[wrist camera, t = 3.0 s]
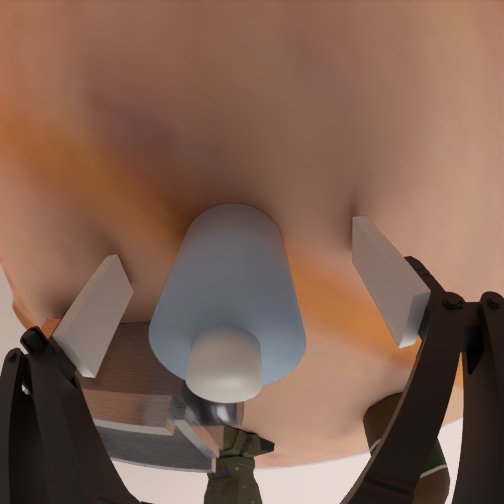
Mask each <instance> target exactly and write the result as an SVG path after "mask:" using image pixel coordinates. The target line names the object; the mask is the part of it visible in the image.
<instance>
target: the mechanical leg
mask: <svg viewBox="0 0 504 504" xmlns="http://www.w3.org/2000/svg"><path fill="white" fill-rule="evenodd" d="M274 445H275V444H274V443H272V442H269V441H267V440H265V439H263V438H260V437H259V436H258V435H254V434H246V433H245V432H243V431H241V430H236V429H234V428H231V427H229V426H224V433H223V451H219V458H216V470H215V473H207V476H208V478H209V480H208V485H207V490H206V493H205V495H204V504H262V500H261V496H260V492H259V487H258V484H257V483H256V481H255V479H254V475H253V470H254V468H255V460H254V456H258V455H261V454H265V453H269V452H272V451H274Z"/></svg>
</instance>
